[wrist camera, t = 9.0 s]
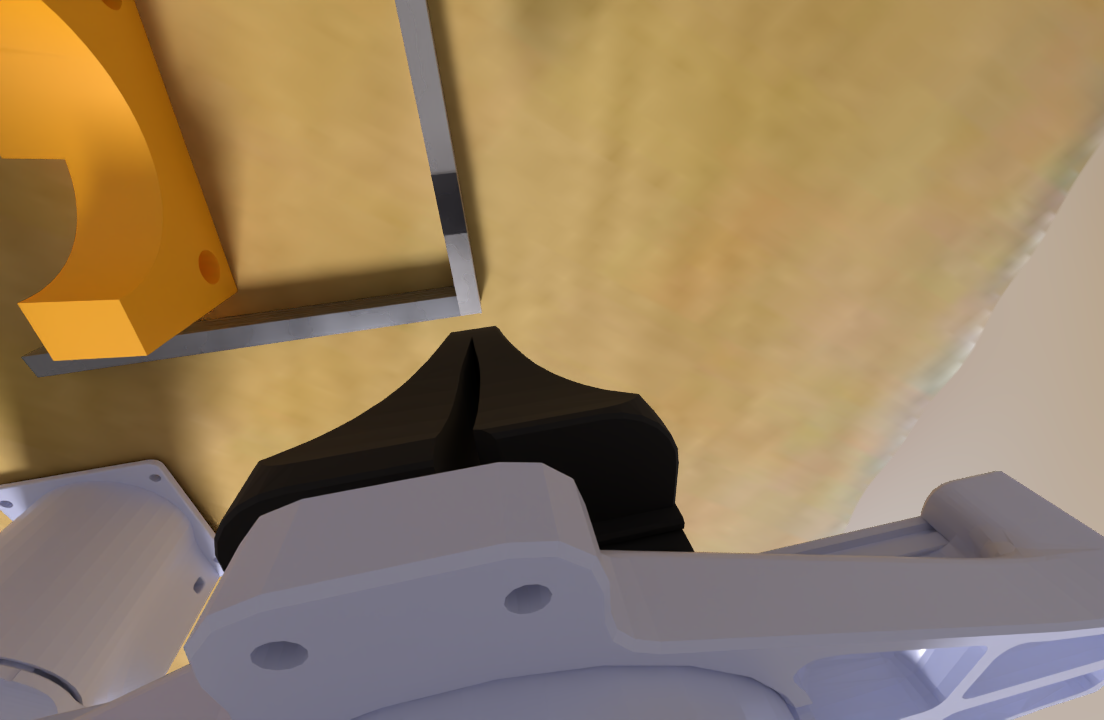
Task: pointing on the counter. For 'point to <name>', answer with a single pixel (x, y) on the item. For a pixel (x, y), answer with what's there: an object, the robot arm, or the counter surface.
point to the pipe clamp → (108, 179)
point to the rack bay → (358, 311)
